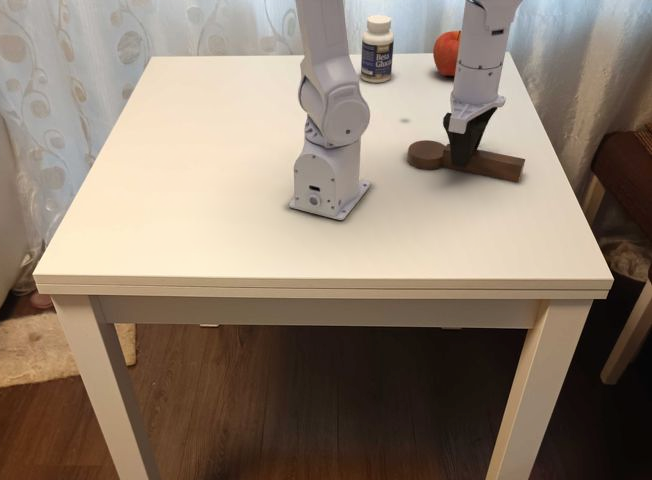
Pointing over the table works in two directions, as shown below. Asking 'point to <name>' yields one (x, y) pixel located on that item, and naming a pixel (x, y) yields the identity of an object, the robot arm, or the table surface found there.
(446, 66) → the apple
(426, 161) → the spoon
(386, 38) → the pill bottle
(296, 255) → the table surface
